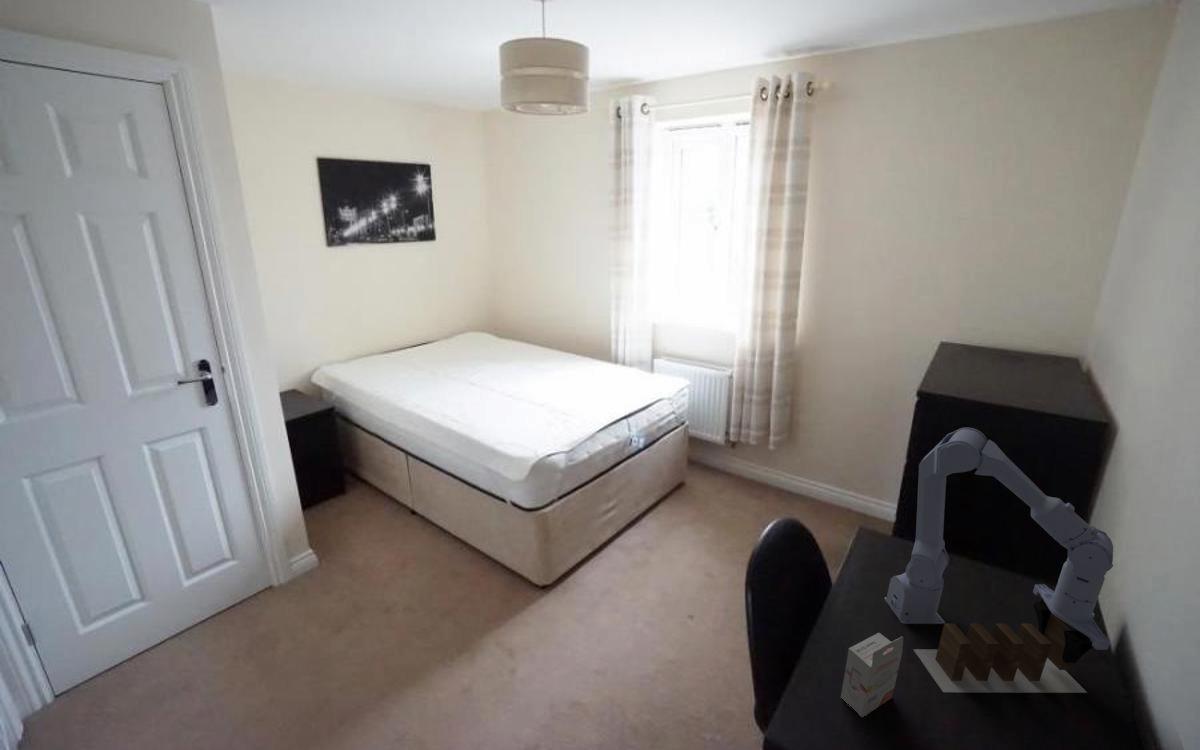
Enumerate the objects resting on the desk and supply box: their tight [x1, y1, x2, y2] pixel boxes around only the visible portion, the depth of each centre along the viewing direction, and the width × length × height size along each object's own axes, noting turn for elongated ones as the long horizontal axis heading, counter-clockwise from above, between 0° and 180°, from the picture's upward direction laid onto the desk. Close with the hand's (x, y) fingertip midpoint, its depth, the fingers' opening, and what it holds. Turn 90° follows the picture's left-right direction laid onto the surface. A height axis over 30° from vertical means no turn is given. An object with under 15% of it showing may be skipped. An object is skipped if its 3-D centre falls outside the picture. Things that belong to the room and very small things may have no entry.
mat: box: [913, 648, 1088, 694], centre depth 104 cm, size 27×10×1 cm, turn 90°
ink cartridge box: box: [840, 632, 904, 718], centre depth 96 cm, size 9×5×15 cm, turn 117°
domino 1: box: [935, 622, 972, 681], centre depth 103 cm, size 2×5×9 cm, turn 0°
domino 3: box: [991, 623, 1025, 681], centre depth 103 cm, size 2×5×9 cm, turn 0°
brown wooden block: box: [1043, 612, 1076, 671], centre depth 102 cm, size 2×5×9 cm, turn 0°
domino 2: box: [965, 622, 998, 681], centre depth 103 cm, size 2×5×9 cm, turn 0°
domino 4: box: [1016, 623, 1052, 681], centre depth 103 cm, size 2×5×9 cm, turn 0°
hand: (1057, 649), depth 103 cm, fingers closed on brown wooden block, 5 cm apart
